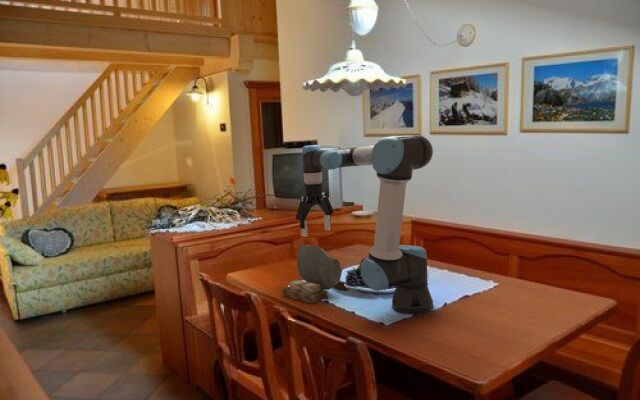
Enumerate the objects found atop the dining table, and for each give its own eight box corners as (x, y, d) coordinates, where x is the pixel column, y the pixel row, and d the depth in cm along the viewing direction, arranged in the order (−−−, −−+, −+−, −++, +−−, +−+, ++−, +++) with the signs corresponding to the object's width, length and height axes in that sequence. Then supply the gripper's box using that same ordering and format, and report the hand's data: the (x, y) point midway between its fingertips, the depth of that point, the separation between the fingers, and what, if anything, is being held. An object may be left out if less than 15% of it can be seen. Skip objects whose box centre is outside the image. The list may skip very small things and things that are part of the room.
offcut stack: (321, 299, 197) (320, 284, 196) (314, 302, 194) (313, 287, 193) (296, 293, 206) (295, 279, 205) (289, 295, 203) (288, 282, 202)
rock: (347, 295, 198) (344, 247, 196) (336, 299, 194) (333, 251, 191) (306, 283, 218) (303, 239, 215) (295, 286, 214) (292, 242, 211)
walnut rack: (349, 289, 206) (348, 282, 205) (313, 304, 191) (312, 296, 190) (319, 282, 218) (318, 276, 218) (283, 295, 203) (282, 288, 203)
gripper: (327, 179, 211) (330, 227, 214) (284, 186, 194) (288, 237, 197) (340, 179, 206) (342, 228, 209) (297, 186, 189) (300, 240, 192)
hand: (316, 233), depth 203 cm, fingers open, 13 cm apart
